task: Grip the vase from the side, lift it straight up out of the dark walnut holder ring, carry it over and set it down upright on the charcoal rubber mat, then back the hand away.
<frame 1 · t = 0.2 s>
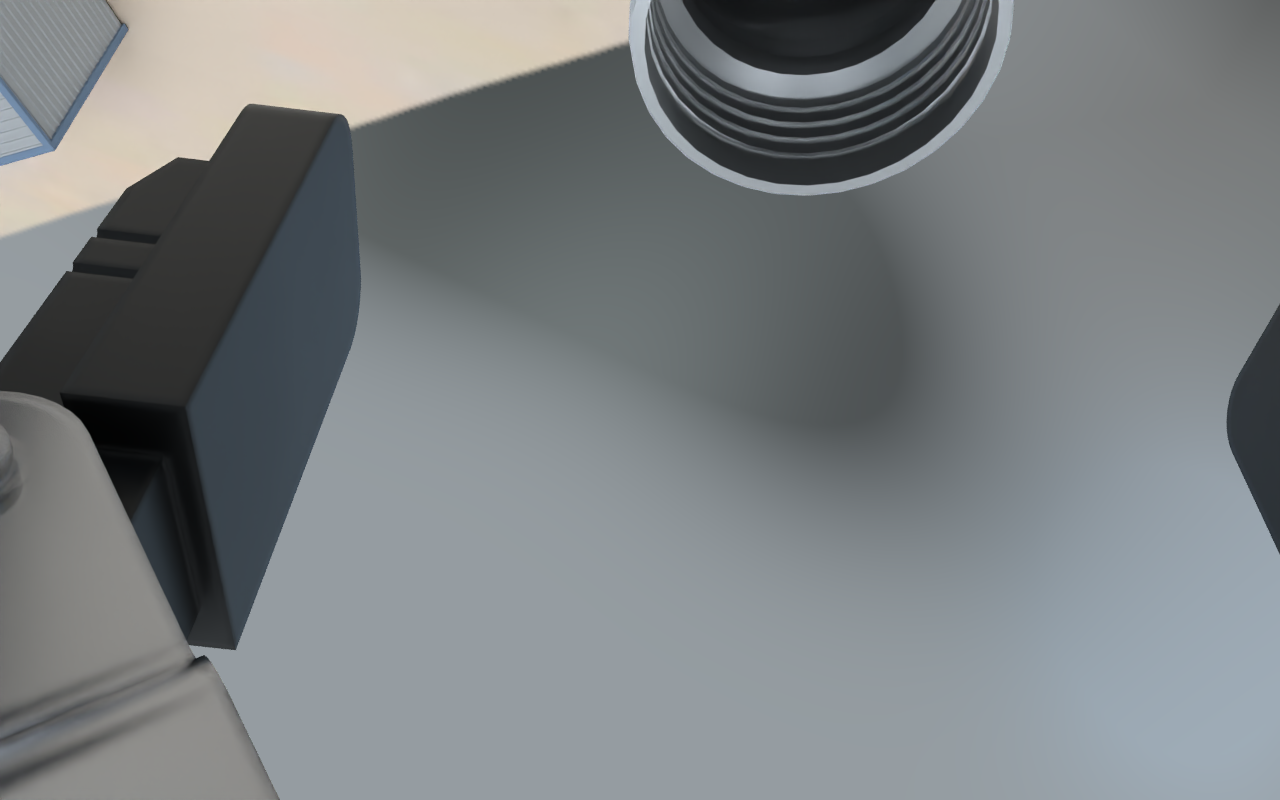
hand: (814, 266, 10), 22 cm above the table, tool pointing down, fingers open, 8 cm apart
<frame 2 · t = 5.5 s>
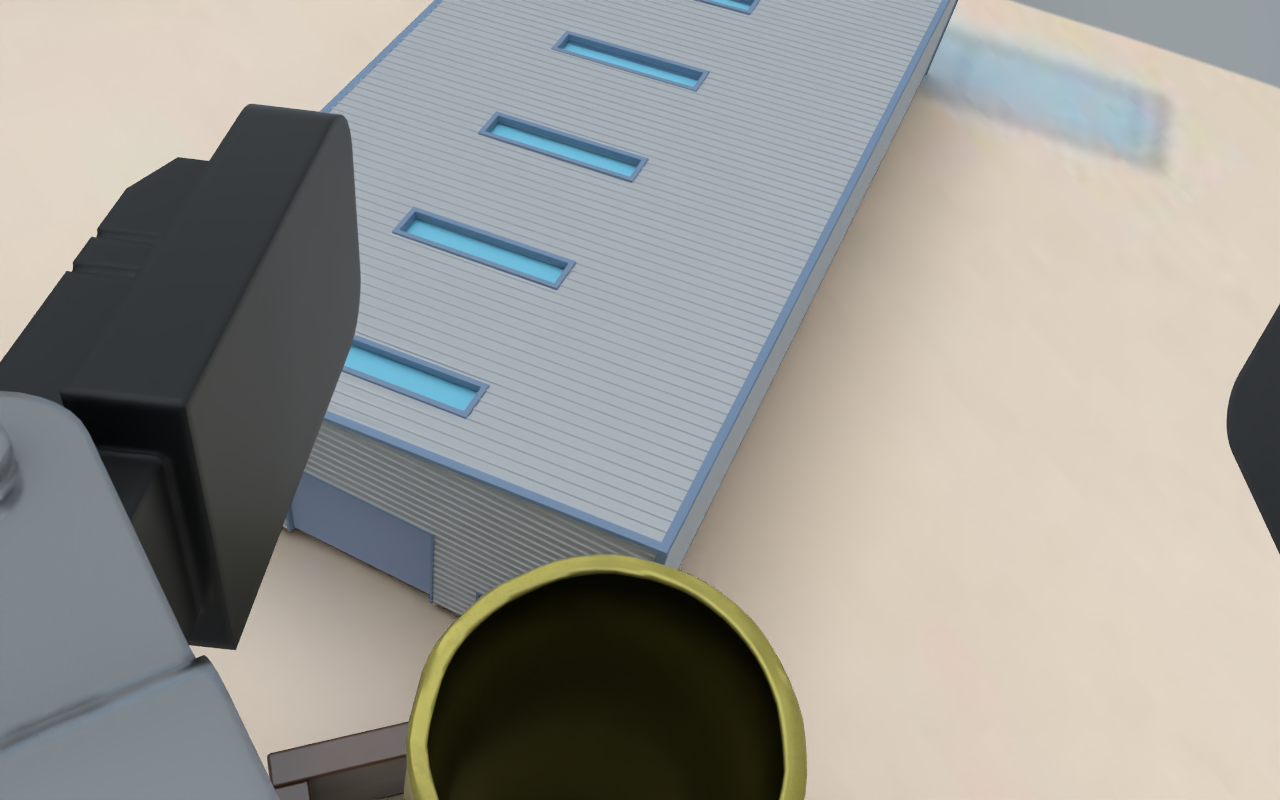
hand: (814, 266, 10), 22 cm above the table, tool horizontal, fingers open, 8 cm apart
warehouse: (611, 231, 40), on the table, touching mat
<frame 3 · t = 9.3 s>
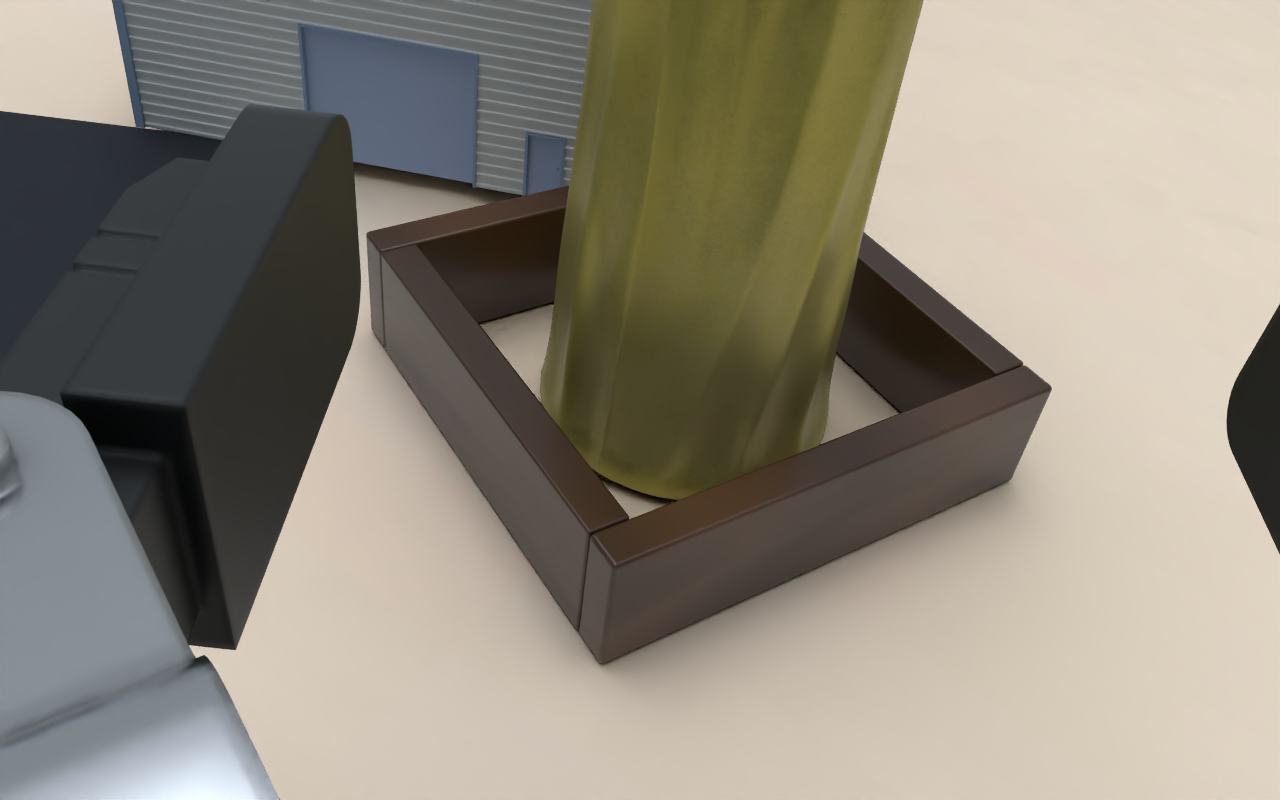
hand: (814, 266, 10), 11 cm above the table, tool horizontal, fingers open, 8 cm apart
vase: (681, 409, 25), resting in holder
holder: (682, 402, 25), on the table
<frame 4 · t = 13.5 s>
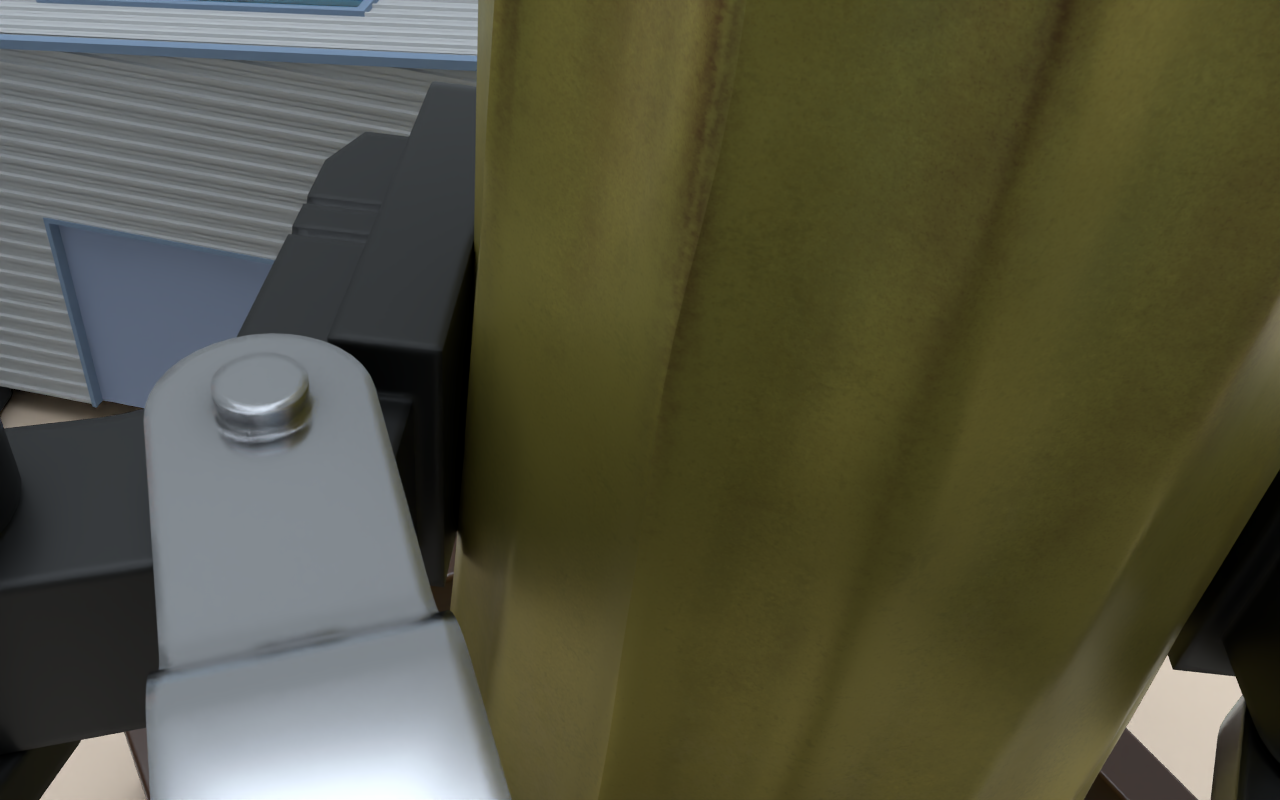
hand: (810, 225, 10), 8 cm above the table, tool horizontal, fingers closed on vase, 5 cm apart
warehouse: (487, 61, 30), on the table, touching mat
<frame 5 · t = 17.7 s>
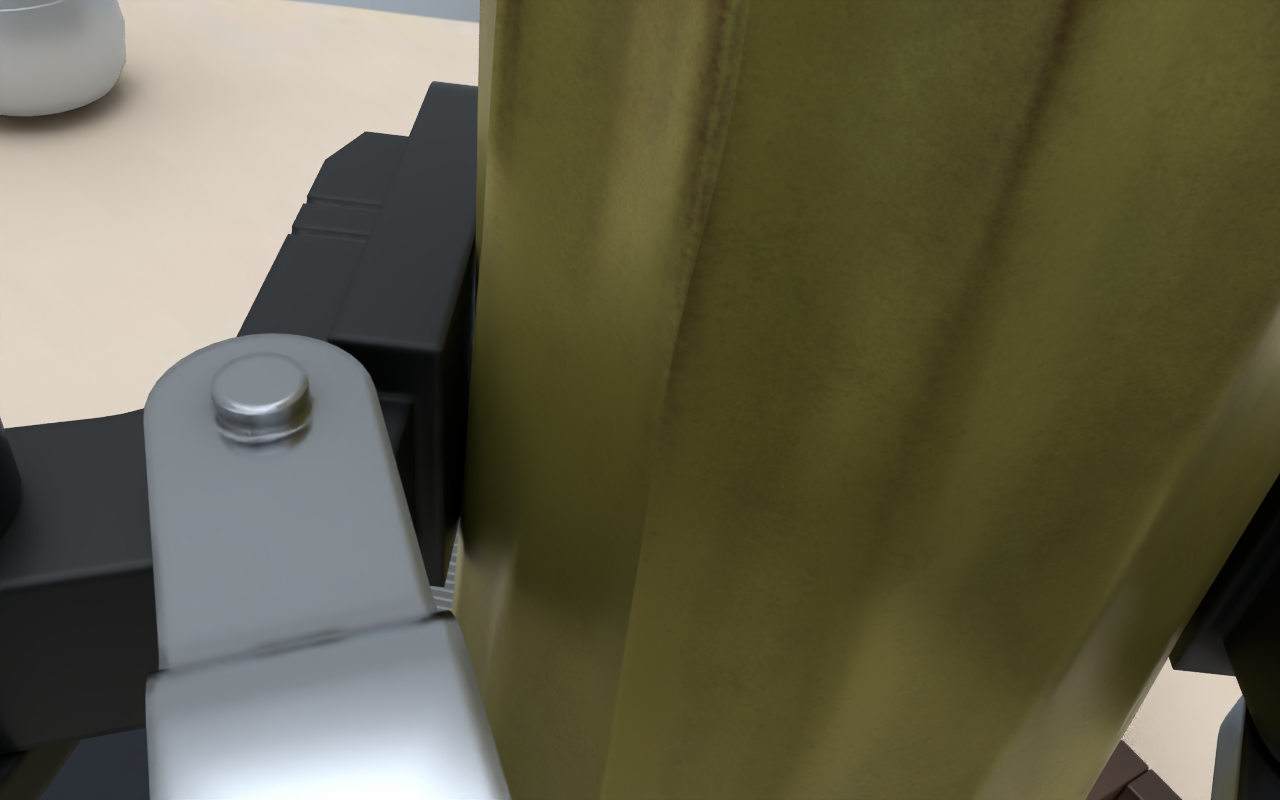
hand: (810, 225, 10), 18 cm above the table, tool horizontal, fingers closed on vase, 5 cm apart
warehouse: (761, 346, 37), on the table, touching mat
plastic bottle: (44, 100, 44), on the table
when the fingers open (9 cm above the table, at t = 22.2 s): vase stays where it is, resting on mat.
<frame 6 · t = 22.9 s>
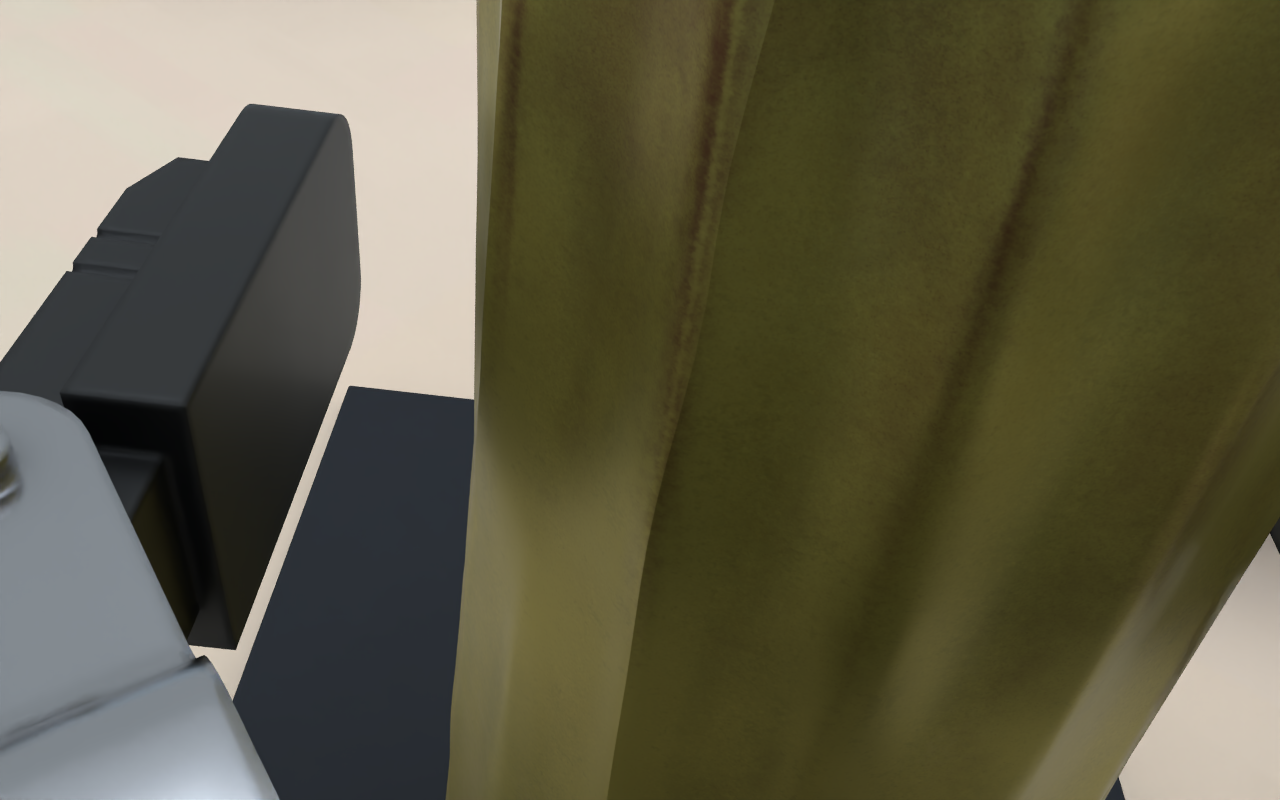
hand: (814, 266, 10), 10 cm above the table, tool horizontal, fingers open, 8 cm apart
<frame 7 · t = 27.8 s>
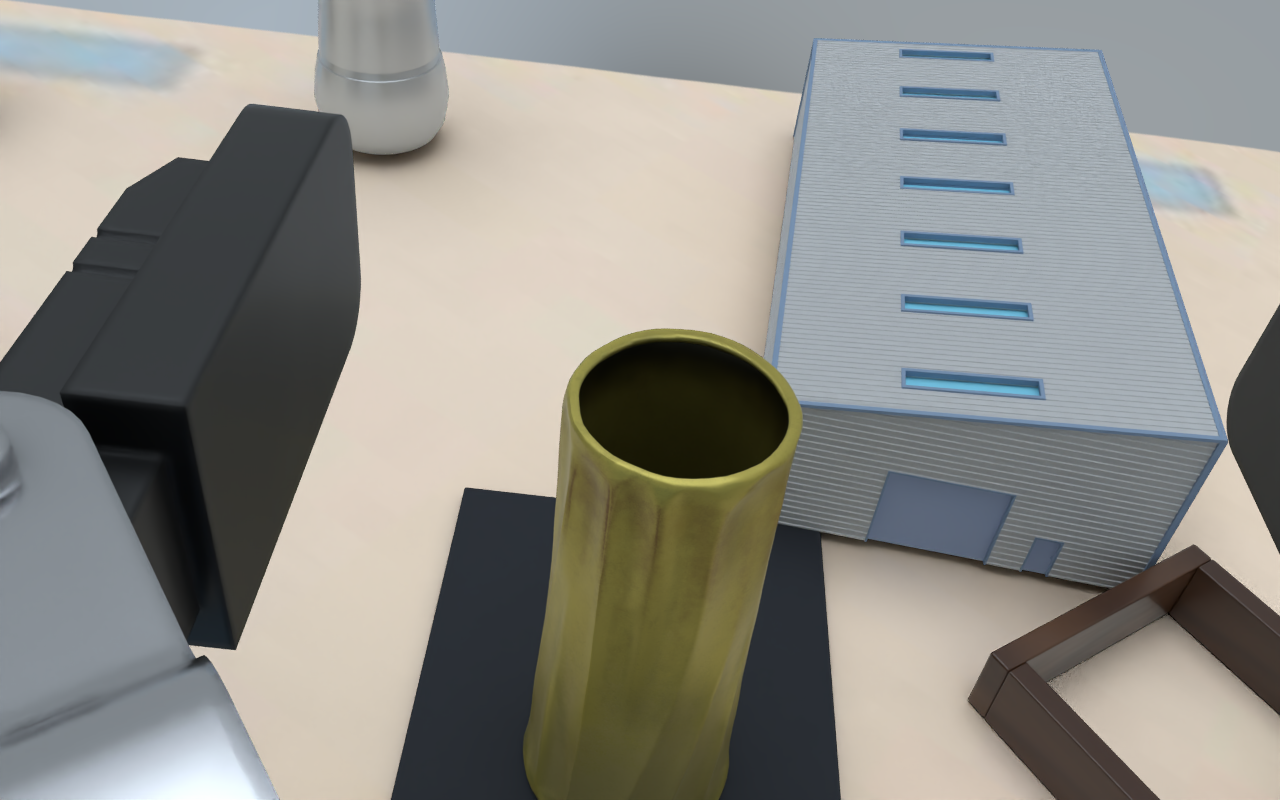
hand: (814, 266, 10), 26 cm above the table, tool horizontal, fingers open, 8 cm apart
warehouse: (926, 318, 54), on the table, touching mat
vase: (624, 758, 35), resting on mat
holder: (1187, 756, 38), on the table
mat: (623, 757, 35), on the table
plastic bottle: (384, 141, 61), on the table
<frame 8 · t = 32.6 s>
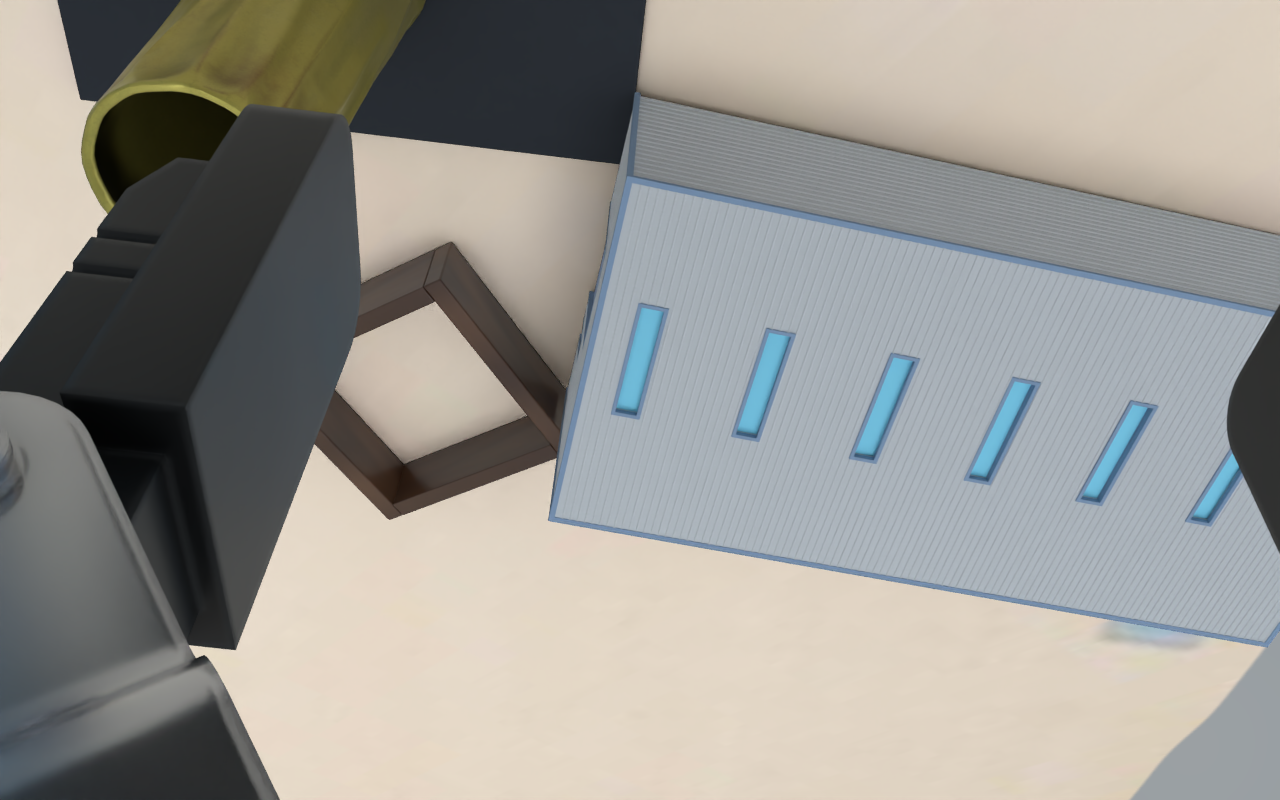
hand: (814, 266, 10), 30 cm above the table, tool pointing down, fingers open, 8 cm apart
warehouse: (959, 326, 48), on the table, touching mat
holder: (423, 371, 51), on the table
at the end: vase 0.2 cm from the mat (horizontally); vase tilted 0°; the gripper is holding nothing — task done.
